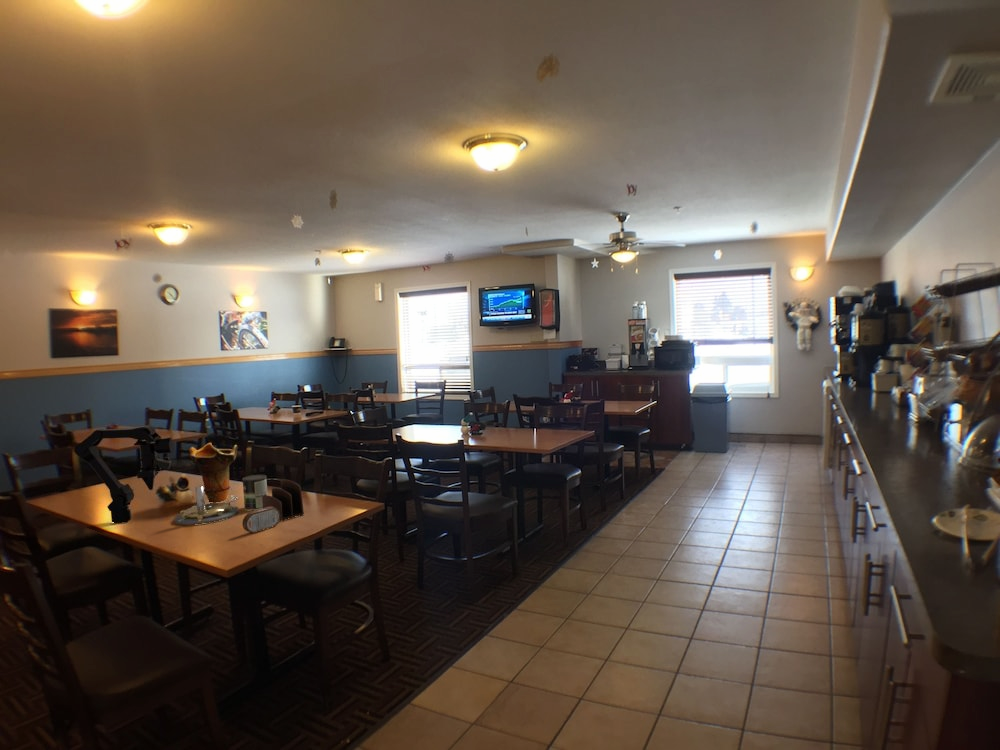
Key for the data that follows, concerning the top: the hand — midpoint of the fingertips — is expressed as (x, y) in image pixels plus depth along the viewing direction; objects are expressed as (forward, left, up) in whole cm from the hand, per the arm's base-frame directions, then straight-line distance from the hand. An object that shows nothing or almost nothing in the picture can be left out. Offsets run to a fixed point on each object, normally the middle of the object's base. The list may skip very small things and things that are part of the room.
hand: (151, 489), depth 259 cm
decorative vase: (+24, +19, -13) cm, 33 cm away
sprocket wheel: (+22, -9, -11) cm, 26 cm away
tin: (+45, -42, -13) cm, 63 cm away
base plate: (+22, -8, -13) cm, 27 cm away
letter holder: (+53, -22, -13) cm, 59 cm away
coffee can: (+42, -5, -13) cm, 44 cm away
